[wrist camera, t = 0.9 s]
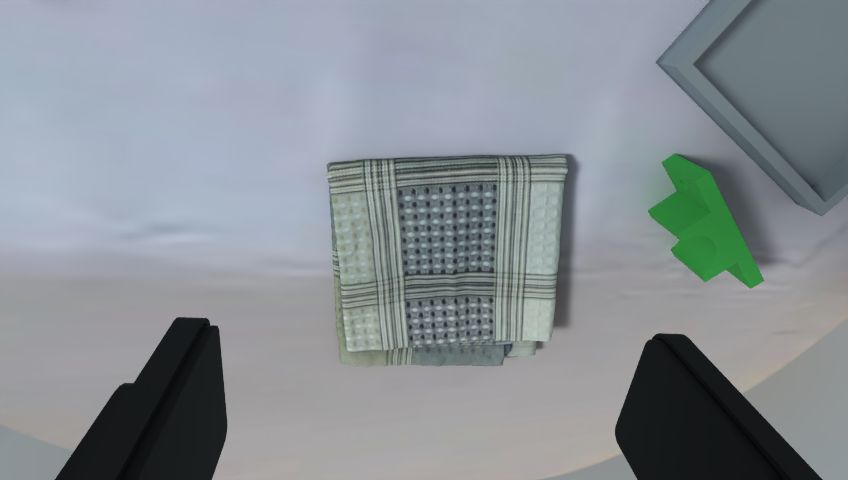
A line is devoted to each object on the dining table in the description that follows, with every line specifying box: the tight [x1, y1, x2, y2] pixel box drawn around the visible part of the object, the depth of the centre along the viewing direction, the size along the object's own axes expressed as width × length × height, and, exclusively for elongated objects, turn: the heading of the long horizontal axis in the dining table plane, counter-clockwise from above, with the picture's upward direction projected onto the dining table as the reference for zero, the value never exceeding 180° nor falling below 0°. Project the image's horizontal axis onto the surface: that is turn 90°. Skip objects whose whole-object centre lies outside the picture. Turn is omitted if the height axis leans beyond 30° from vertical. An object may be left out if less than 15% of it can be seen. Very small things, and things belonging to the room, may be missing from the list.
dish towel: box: [327, 155, 568, 367], centre depth 38 cm, size 19×18×3 cm
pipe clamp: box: [648, 154, 764, 289], centre depth 37 cm, size 11×4×5 cm, turn 37°
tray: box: [656, 0, 848, 216], centre depth 33 cm, size 16×18×2 cm
